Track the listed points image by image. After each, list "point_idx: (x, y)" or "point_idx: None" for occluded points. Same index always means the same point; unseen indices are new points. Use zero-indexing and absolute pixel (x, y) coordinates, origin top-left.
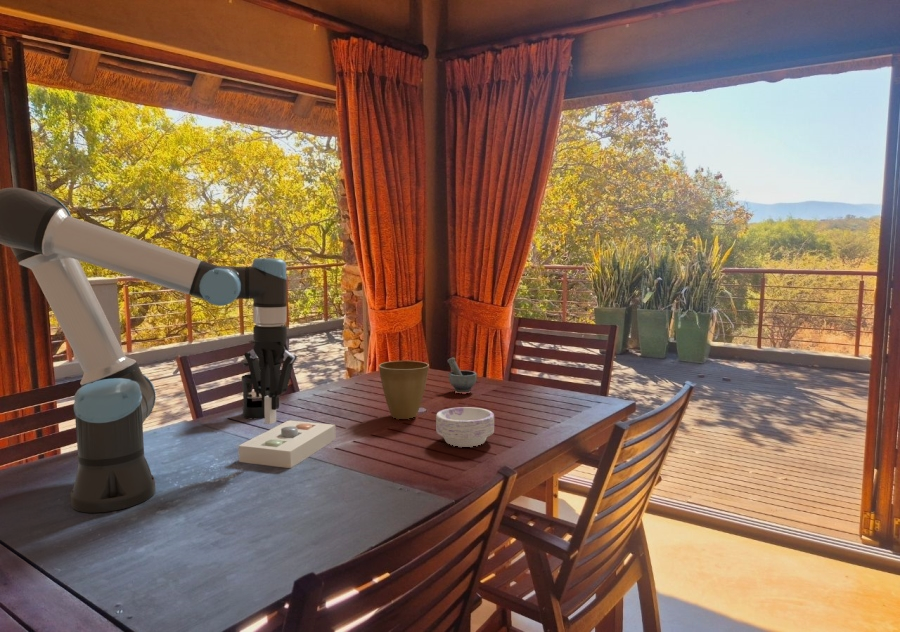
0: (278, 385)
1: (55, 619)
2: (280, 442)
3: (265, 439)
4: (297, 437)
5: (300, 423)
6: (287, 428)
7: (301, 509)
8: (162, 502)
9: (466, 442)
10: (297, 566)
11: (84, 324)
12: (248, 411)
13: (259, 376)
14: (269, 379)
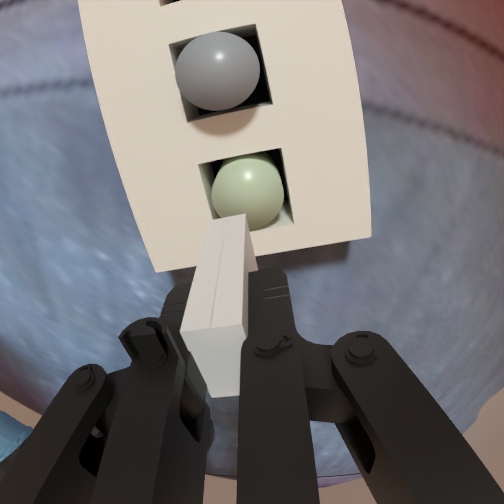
0: (364, 471)
1: (343, 481)
2: (278, 187)
3: (179, 177)
4: (284, 86)
5: None
6: (203, 72)
7: (463, 343)
8: (235, 414)
9: None
10: (482, 401)
11: None
12: None
13: (65, 501)
14: (169, 494)
